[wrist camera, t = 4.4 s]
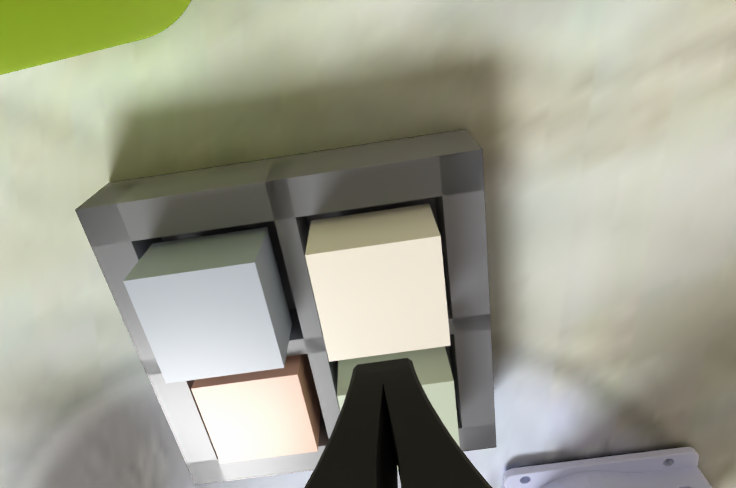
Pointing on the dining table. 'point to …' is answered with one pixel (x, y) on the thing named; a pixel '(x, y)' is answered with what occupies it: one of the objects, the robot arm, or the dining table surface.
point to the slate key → (212, 305)
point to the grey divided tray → (289, 240)
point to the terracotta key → (261, 411)
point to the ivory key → (378, 282)
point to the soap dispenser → (76, 27)
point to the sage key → (431, 375)
